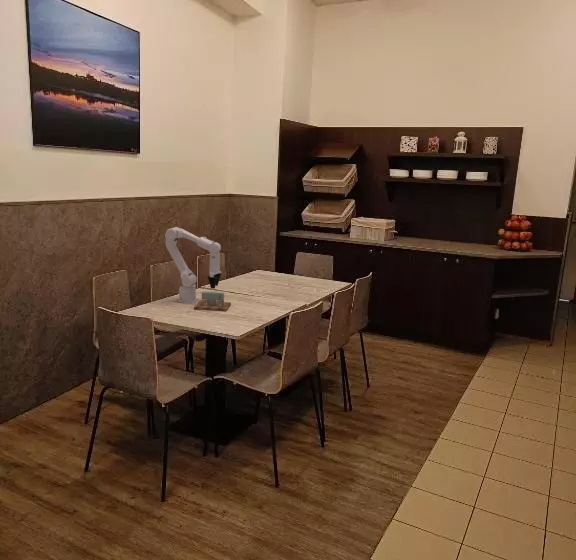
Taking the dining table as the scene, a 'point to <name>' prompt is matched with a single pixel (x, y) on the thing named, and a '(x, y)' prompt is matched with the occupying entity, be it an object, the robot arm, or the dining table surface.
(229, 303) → the cabinet base
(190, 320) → the dining table surface
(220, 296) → the grey block
